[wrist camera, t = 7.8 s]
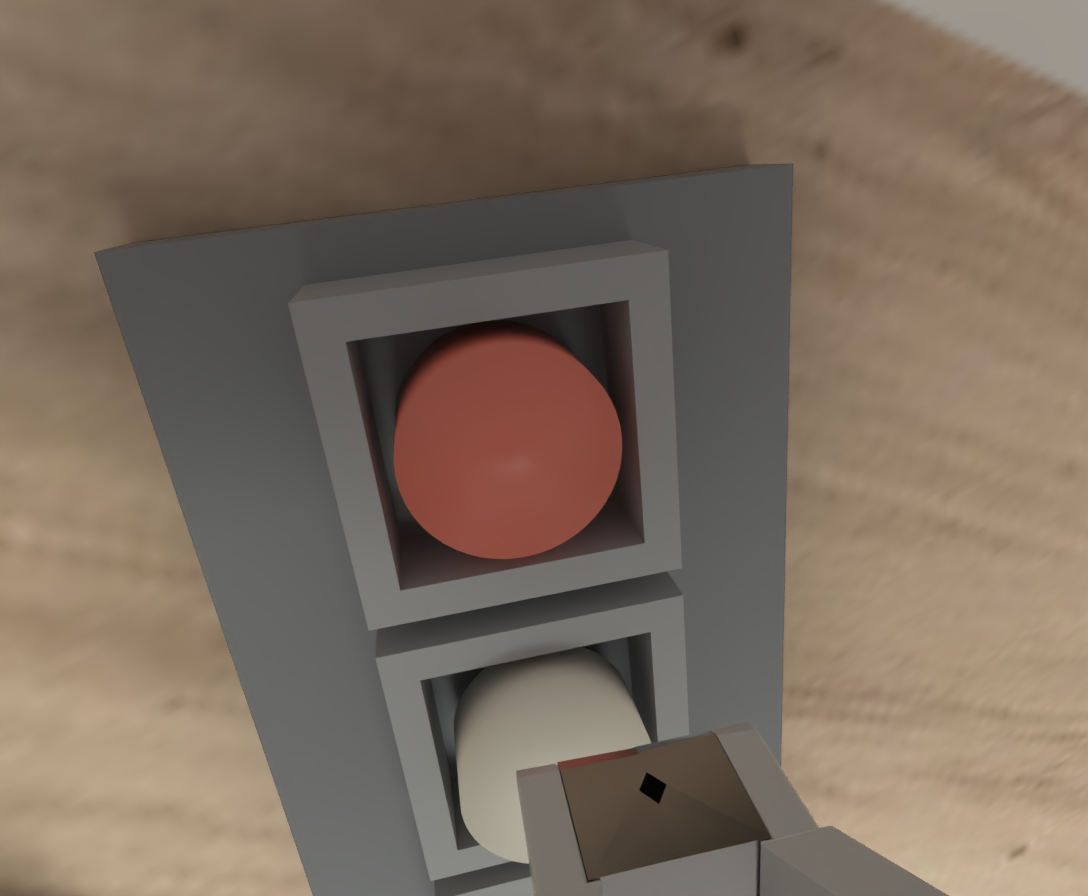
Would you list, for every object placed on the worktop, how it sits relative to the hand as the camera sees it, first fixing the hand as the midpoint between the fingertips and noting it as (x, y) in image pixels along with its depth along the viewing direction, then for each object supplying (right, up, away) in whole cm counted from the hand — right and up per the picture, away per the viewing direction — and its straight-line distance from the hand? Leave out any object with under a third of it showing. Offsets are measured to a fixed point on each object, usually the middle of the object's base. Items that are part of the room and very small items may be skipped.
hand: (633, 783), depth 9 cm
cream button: (-1, -2, +9) cm, 9 cm away
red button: (-2, +5, +7) cm, 9 cm away
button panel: (-2, -1, +12) cm, 12 cm away
